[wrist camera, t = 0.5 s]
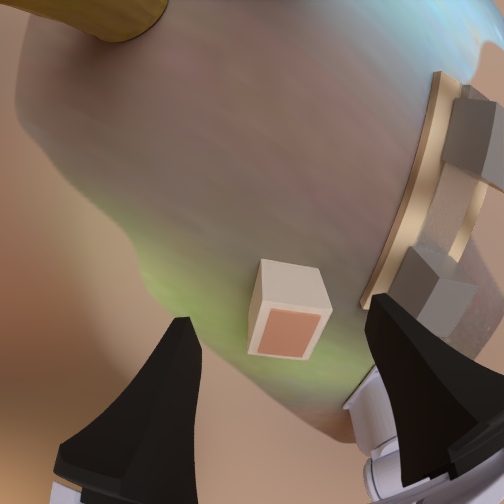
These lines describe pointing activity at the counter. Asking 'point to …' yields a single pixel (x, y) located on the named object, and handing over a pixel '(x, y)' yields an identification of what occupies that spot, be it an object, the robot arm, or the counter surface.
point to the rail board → (442, 207)
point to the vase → (98, 15)
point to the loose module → (287, 311)
